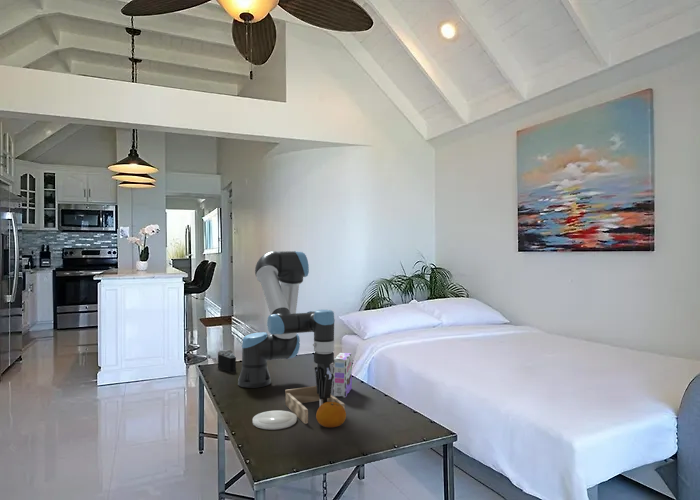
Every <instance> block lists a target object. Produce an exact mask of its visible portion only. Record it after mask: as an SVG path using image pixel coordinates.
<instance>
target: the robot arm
mask: <svg viewBox="0 0 700 500" xmlns="http://www.w3.org/2000/svg"><path fill="white" fill-rule="evenodd" d="M255 264H256V265H255V270H254V273H255V277H256V280H257V281H258V282H259V283H260V287H261V289H262V291H263V296H264V298H265V301H266V304H267V308H268V311H269V314H270V315H268V317H267V321H266V322H267V323H266V326H267V331H268V332H265V331H264V332H263V331H261V332H254V333H250V334H247V335H246V334H245V336H243V338H242V342H241V343H242V344H241V348H242V349H241V370H240V372H239V373H240V374H239V377H238V380H237V385H238V386H239V387H241V388H246V389H247V388H248V389H249V388H250V389H255V388H263V387H266V386H269V385H270V384H271V383H272V381H271V379H272V377H271V375H270V371H269V368H268V361H274V360H285V359H286V360H289V359H293V358H295V357H296V356H297V355H298V353H299V350H300V347H301V346H300V345H301V344H300V341H301V340H300V335H299V334H301V333H303V334H304V333H313V344H312V347H313V351H314V352H313V362H314V364H317V366H315V367H314V374H315V384H316V385H315V386H317V394H319V401H318V403H319V407H320V406H321V405H322V404H323V403H326V402H328V398H330V397H331V395H332V389H333V376H334V375H333V373H331V371H332V370H331V364H333V362H334V358H335V352H334V351H335V320H336V319H335V312H334V311H333V310H331V309H316V310H315V311H313V310H312V311H311V310H310V311H307V312H298V313H297V307H298V298H299V297H298V296H299V288H300V285H301V284H302V283H303V282H304V278H306V277H308V276H309V273H310V272H309V271H310V268H309V267H310V266H309V261H308V257H307V255H306V253H304V252H303V251H296V250H294V251H290V250H289V251H288V250H287V251H286V250H285V251H283V250H282V251H276V250H273V251H272V250H271V251H268V252H265V254H262V256H261V257H259V259H258V260H257V261H256V263H255ZM268 333H269V335H268ZM319 407H318V408H319Z"/></svg>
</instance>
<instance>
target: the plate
mask: <svg viewBox="0 0 700 500" xmlns="http://www.w3.org/2000/svg"><path fill="white" fill-rule="evenodd" d="M297 421H298V417H297V416H296V415H295V414H294V413H293V412H292V411H288V410H281V409H280V410H279V409H278V410H267V411H263V412H259V413H257V414H255V415H254V416H253V417H252V425H253V426H254V427H256V428H258V429H261V430H270V431H271V430H282V429H286V428H287V429H288V428H290V427H292V426H294V425H295V424H296V423H297Z"/></svg>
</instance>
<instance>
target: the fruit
mask: <svg viewBox="0 0 700 500" xmlns="http://www.w3.org/2000/svg"><path fill="white" fill-rule="evenodd" d="M315 418H316V421H317V423H318V424H319V425H320V426H321V427H322V426H323V427H324V428H337V427H340V426H342V425H343V424H344V422H345V421H346V418H347V413H346V408H345V409H344V408H343V406H342V405H340V404H339V403H336V402H326V403H323V404H322V405H321V406H320V407H318V408H317V410H316V414H315Z"/></svg>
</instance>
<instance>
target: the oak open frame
mask: <svg viewBox="0 0 700 500" xmlns="http://www.w3.org/2000/svg"><path fill="white" fill-rule="evenodd" d="M284 391H285V392H284V393H285V394H284V396H285V397H284V399H285V400H284V404H285V406H286V407H287V408H288V409H289V410H290V412H292V413H294V414H295V415H296V416H297V419H299V420H300V421H302V423H303V424H304V425H307V424H308V423H309V409H308V408H307V407H306V406H305V405H304V404H306V403H313V402H319V394H317V386H316V385H312V386H304V387H297V388H290V389H285V390H284ZM328 402H336V403H339V404H340V405H342V406H343V408H344V409H345V410H346V407H345V404H346V403H344V402H343V401H341V400H339V399H338V397H334V396H333V394H331V397H330V398H328Z"/></svg>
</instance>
